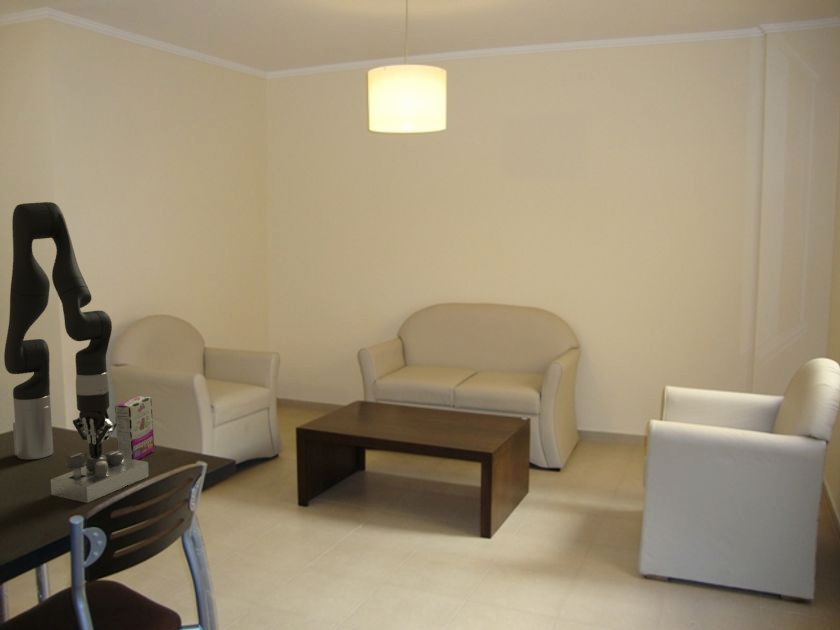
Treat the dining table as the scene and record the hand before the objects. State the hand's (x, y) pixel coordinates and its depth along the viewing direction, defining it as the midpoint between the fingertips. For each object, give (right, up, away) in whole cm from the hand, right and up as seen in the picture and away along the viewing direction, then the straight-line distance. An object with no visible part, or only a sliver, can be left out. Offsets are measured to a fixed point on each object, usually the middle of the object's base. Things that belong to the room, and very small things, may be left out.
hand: (96, 457), depth 191 cm
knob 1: (-2, -4, -5) cm, 7 cm away
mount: (+1, -7, 0) cm, 7 cm away
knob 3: (+2, -6, +6) cm, 9 cm away
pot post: (+3, -4, -4) cm, 7 cm away
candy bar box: (+2, -5, +23) cm, 24 cm away
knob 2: (0, -6, +1) cm, 6 cm away
